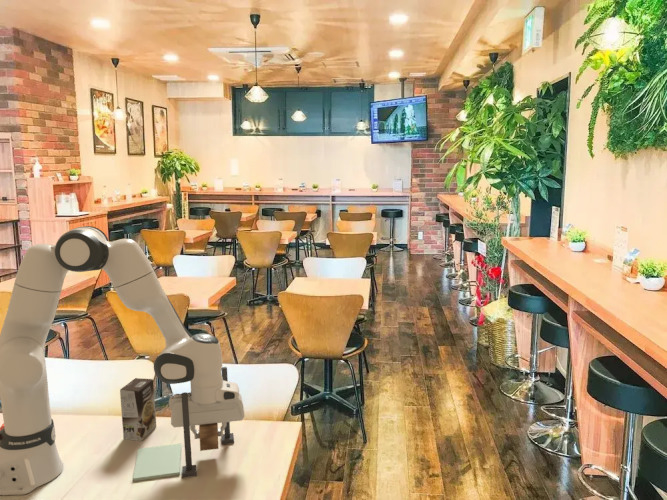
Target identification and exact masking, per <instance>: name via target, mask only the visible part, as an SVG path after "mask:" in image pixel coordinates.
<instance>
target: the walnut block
mask: <svg viewBox="0 0 667 500" xmlns="http://www.w3.org/2000/svg"><path fill="white" fill-rule="evenodd" d="M218 424H219V423H213V424H203V425H198V428H199V433H200V439H199V448H200V450H199V451H200V452H201V451H211V450H218V449H219V436H218V428H219V427H218V426H219V425H218Z"/></svg>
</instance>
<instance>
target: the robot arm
mask: <svg viewBox="0 0 667 500" xmlns="http://www.w3.org/2000/svg"><path fill="white" fill-rule="evenodd" d="M100 270H103V272H105V273H106V274H107V275H106V276H108V278H109V280H110V282H111V283H112V286H113V289H114V290H115V292H116V295H117V296H118V298H119V300H120V301H121V302H122V304H123V305H124V306H125V308H127V309H129V310H132V311H134V312H144V313H146V314H149V316H151V317H152V318H153V320H154V322H155V323H156V325H157V327H158V329H159V331H160V332H161V335H162V336H163V337H164V340H165V347H164V349H162V350H161V352H160V353H159V354H158V355H157V357H156V358H155V360H154V363H153V371H154V374H155V376H156V377H157V378H158V380H160V381H161V382H162V383H165V384H167V385H176V384H182V383H183V384H184V383H187V382H190V392H187V393H188V408H189V424H190V431H191V432H192V434H194V440H198V439H199V440H200V433H199V430H197V429H196V426H199V425H203V424H213V423H218V424H221V426H220V427H218V437H221V436H223V434H224V432H225V431H224V429H225V427H226V426H227V422H230V423H231V422H239V421H240V422H241V421H243V420H244V418H245V409H244V407H245V406H244V403H243V398H242V395H241V393H240V387H239V385H238V383H236V382H232V381H229V380H228V381H224V380H223V377H222V367H223V353H222V348H221V343H220V340H219V339H218V338H217V337H216V336H214V335H212V334H209V333H196V334H192V333H191V332H189V330H187V328H186V327H185V325H184V323H183V322H182V320H181V318H180V316H179V315H178V313H177V311H176V308H175V307H174V305H173V304H172V302H171V300H170V299H169V297H168V296H167V293H166V292H165V290H164V289H163V286H162V285H161V282H160V280H159V279H158V276H157V273H156V272H155V270H154V268H153V266H152V264H151V262H150V260H149V259H148V257H147V255H146V254H145V251H143V249H142V248H141V246H140V245H139V244H138V242H137V241H135V240H134V239H131V238H120V239H117V240H114V241H109V239H108V237H107V235H106V233H105V232H103V231H102V230H101V229H100V228H98V227H95V226H90V225H85V226H77V227H74V228H72V229H71V230H69V231H66V232H65V233H62V235H61V236H60V237H59V238H58V240H57V241H56V243H55V244H50V243H49V244H48V243H38V244H35V245H31V246H30V247H29V248H27V250H26V252H25V253H24V255H23V258H22V259H21V262H20V265H19V267H18V269H17V272H16V276H15V278H14V284H13V287H12V291H11V296H10V300H9V303H8V307H7V311H6V313H5V314H6V315H5V318H4V321H3V323H2V324H3V325H2V328H1V332H0V403H1V404H0V405H1V411H2V421H3V423H2V424H1V426H0V496H6V495H7V496H9V495H10V496H11V495H13V496H15V495H26V494H30V493H31V492H32V491H34V490H35V489H37V488H39V487H41V486H42V485H45V484H47V483H49V482H51V481H52V480H54V479H56V478H57V477H58V476H59V475H60V474H61V473H62V472H63V469H64V463H63V461H62V459H61V457H60V455H59V452H58V451H59V450H58V448H57V445H56V427H55V424H54V423H55V422H54V419H53V418H52V413H51V403H50V396H49V394H50V393H49V385H48V382H49V381H48V373H47V364H46V359H45V345H46V342H47V338H48V335H49V332H50V330H51V327H52V324H53V322H54V319H55V316H56V314H57V309H58V306H59V303H60V302H59V301H60V298H61V293H62V290H63V285H64V280H65V278H66V276H67V274H68V273H69V271H70V272H76V273H84V272H91V271H100ZM181 394H182V393H174V394H173V395H172V396H170V397H169V399H168V406H169V408H170V410H171V413H170V414H171V416H170V425H171V426H172V427H173V428H183V412H182V396H181Z"/></svg>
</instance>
